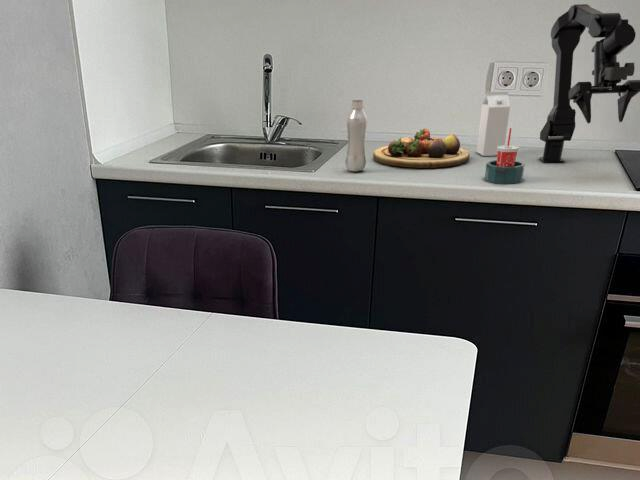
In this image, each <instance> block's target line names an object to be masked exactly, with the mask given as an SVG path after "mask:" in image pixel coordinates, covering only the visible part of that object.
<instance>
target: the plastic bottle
mask: <svg viewBox="0 0 640 480" xmlns="http://www.w3.org/2000/svg"><path fill="white" fill-rule="evenodd" d="M364 105H365V104H364V100H363V99H354V100H351V107H350V108H351V110H350V112H349V113H348V115H347V118H346V130H347V147H346V149H347V150H346V156H345V169H346V170H347V171H350V172H355V173H356V172H360V171H364V169H365V168H366V165H367V159H366V147H365V143H366V142H365V141H366V134H367V133H366V131H367V127H368V126H367V125H368V117H367V114H366V113H365V111H364V109H363V108H365V106H364Z"/></svg>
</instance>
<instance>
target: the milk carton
mask: <svg viewBox="0 0 640 480" xmlns="http://www.w3.org/2000/svg"><path fill="white" fill-rule="evenodd" d="M510 109H511V104H510V98H509V91H506V90H504V91H487V92H486V96H485V97H484V100H483V102H482V104H481V111H480V120H479V127H478V137H477V138H478V139H477V145H476V153H477V154H479V155H481V156H482V157H490V156H491V157H492V156H493V157H495V156H497V153H498V151H497V147H498V146H502V145H505V143H506V138H507V130H508V124H509V122H508V121H509V117H510Z"/></svg>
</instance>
